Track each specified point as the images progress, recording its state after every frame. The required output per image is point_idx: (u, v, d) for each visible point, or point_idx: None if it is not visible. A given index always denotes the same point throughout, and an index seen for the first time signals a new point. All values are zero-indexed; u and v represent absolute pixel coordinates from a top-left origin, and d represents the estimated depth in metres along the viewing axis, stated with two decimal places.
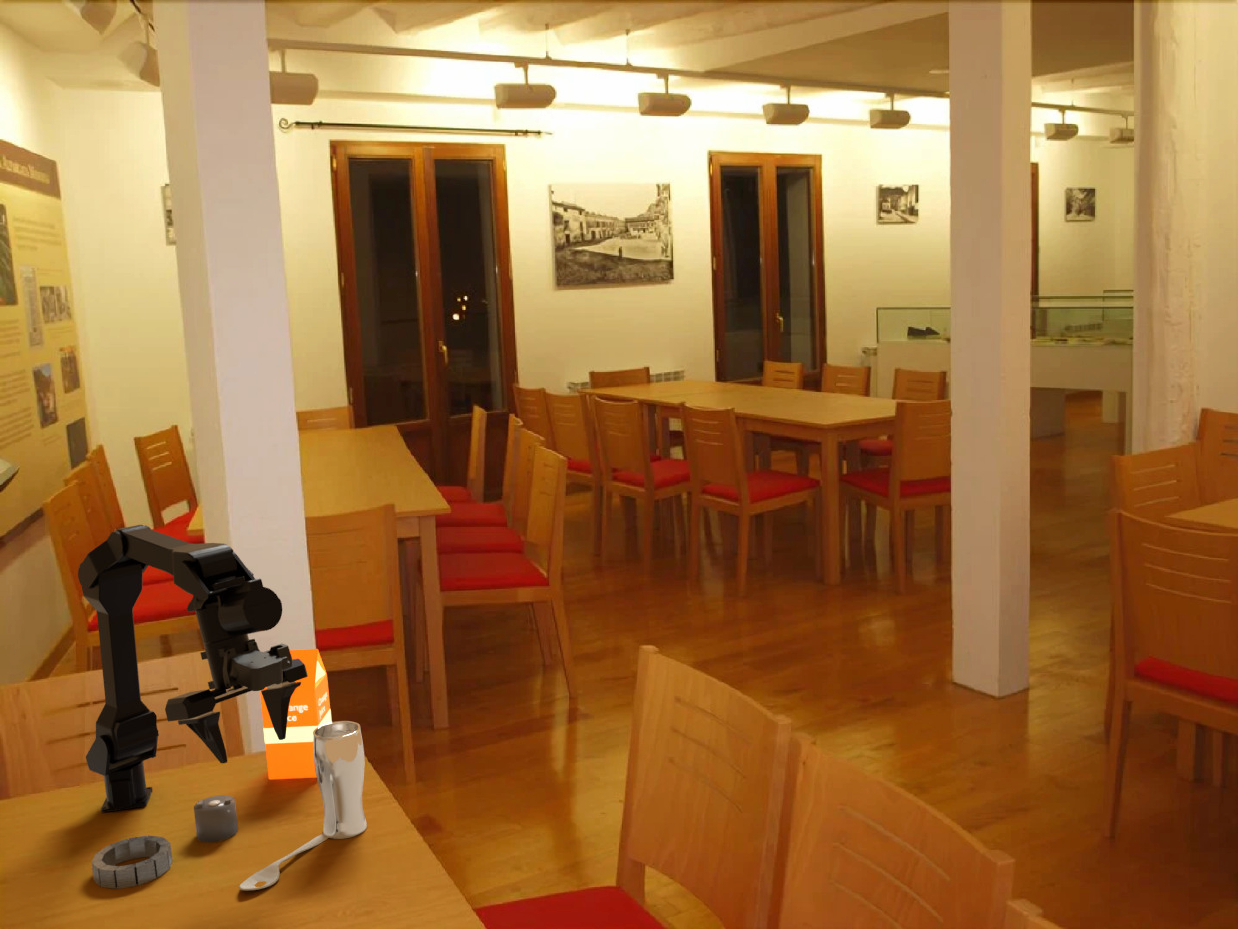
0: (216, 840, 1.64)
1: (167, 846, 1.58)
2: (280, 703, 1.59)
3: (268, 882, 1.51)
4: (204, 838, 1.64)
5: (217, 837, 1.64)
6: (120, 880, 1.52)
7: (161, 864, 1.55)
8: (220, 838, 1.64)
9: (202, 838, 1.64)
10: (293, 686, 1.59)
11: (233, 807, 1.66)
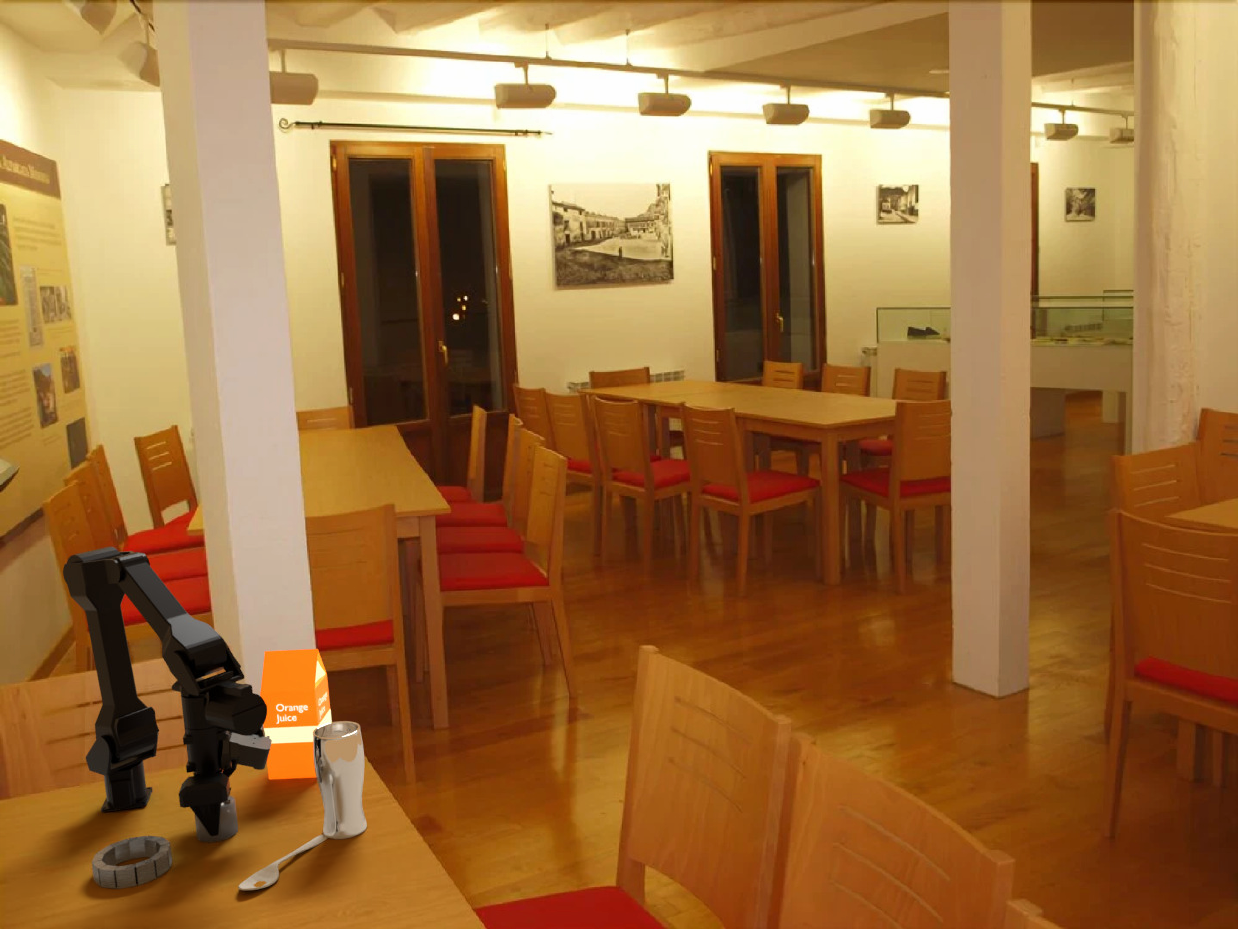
0: (216, 840, 1.64)
1: (167, 846, 1.58)
2: None
3: (267, 882, 1.51)
4: (204, 838, 1.64)
5: (217, 837, 1.64)
6: (120, 880, 1.52)
7: (161, 864, 1.55)
8: (220, 838, 1.64)
9: (202, 838, 1.64)
10: (236, 766, 1.71)
11: (233, 807, 1.66)
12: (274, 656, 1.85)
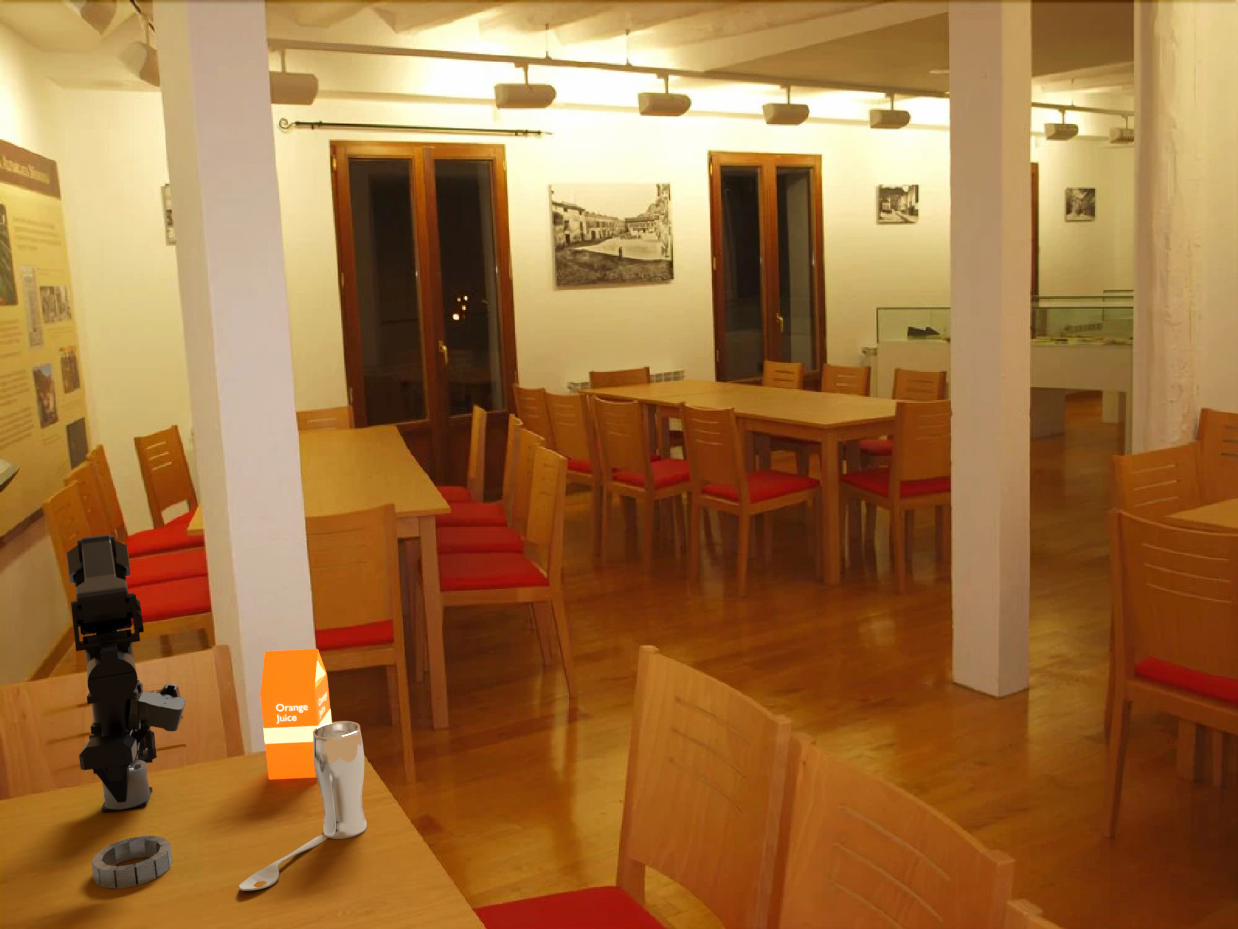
0: (124, 806, 1.53)
1: (167, 846, 1.58)
2: None
3: (267, 882, 1.51)
4: (111, 804, 1.53)
5: (125, 803, 1.53)
6: (120, 880, 1.52)
7: (161, 864, 1.55)
8: (129, 805, 1.53)
9: (109, 804, 1.53)
10: (149, 729, 1.59)
11: (144, 771, 1.54)
12: (274, 656, 1.85)
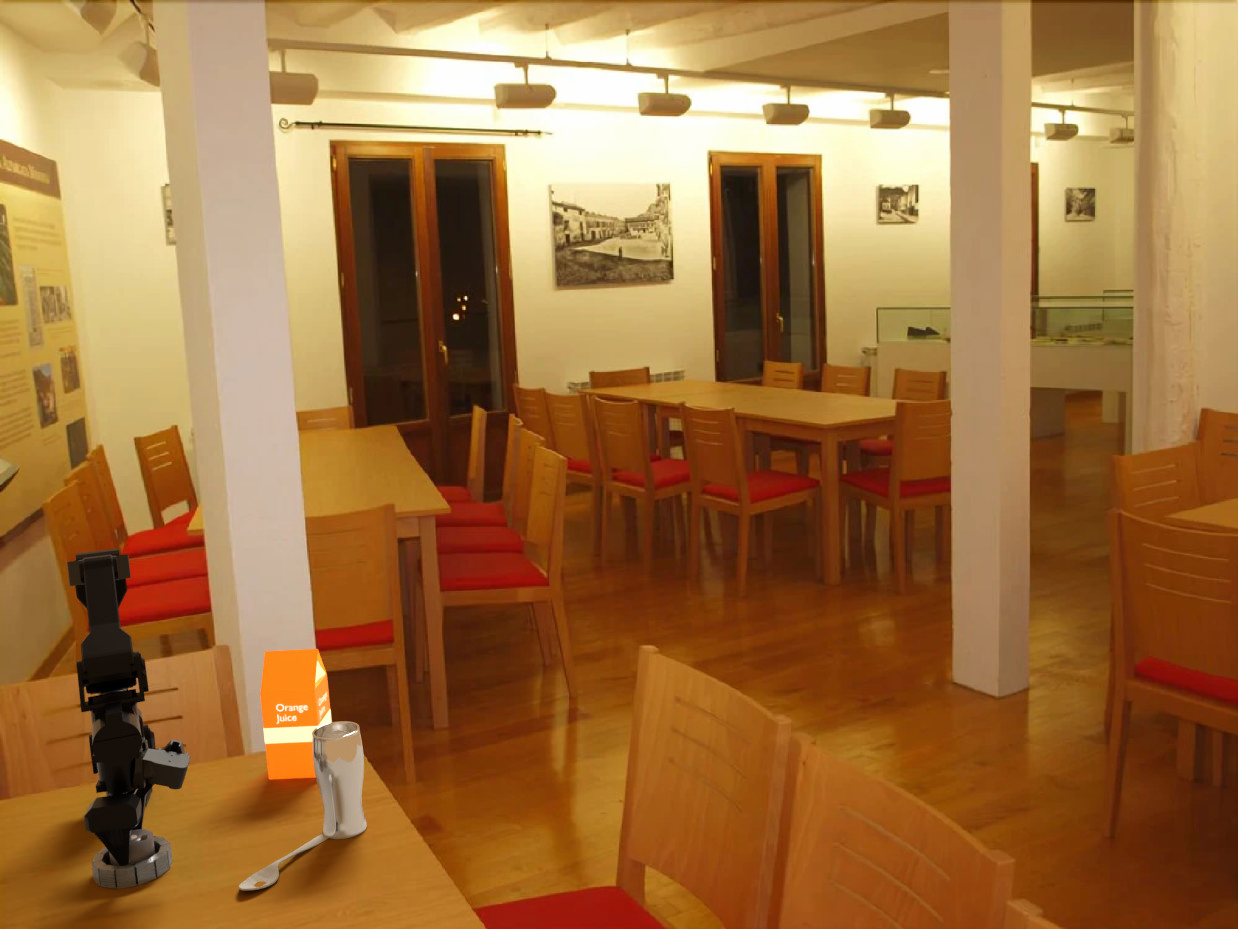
0: None
1: (167, 846, 1.58)
2: (143, 798, 1.60)
3: (267, 882, 1.51)
4: None
5: None
6: (120, 880, 1.52)
7: (161, 864, 1.55)
8: None
9: None
10: None
11: (150, 842, 1.56)
12: (274, 656, 1.85)
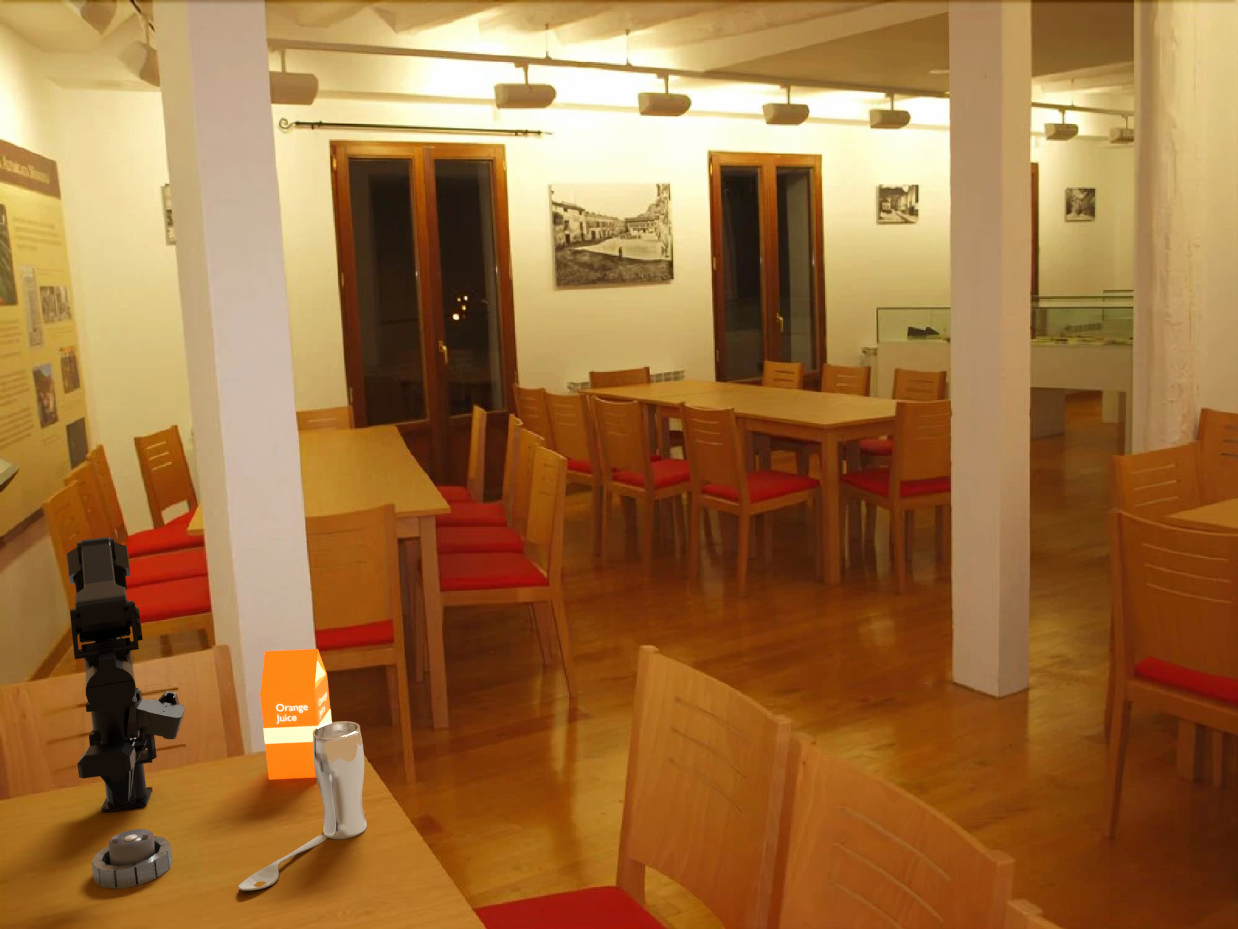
0: None
1: (167, 846, 1.58)
2: None
3: (267, 882, 1.51)
4: None
5: None
6: (120, 880, 1.52)
7: (161, 864, 1.55)
8: None
9: None
10: (145, 743, 1.57)
11: (151, 842, 1.56)
12: (274, 656, 1.85)
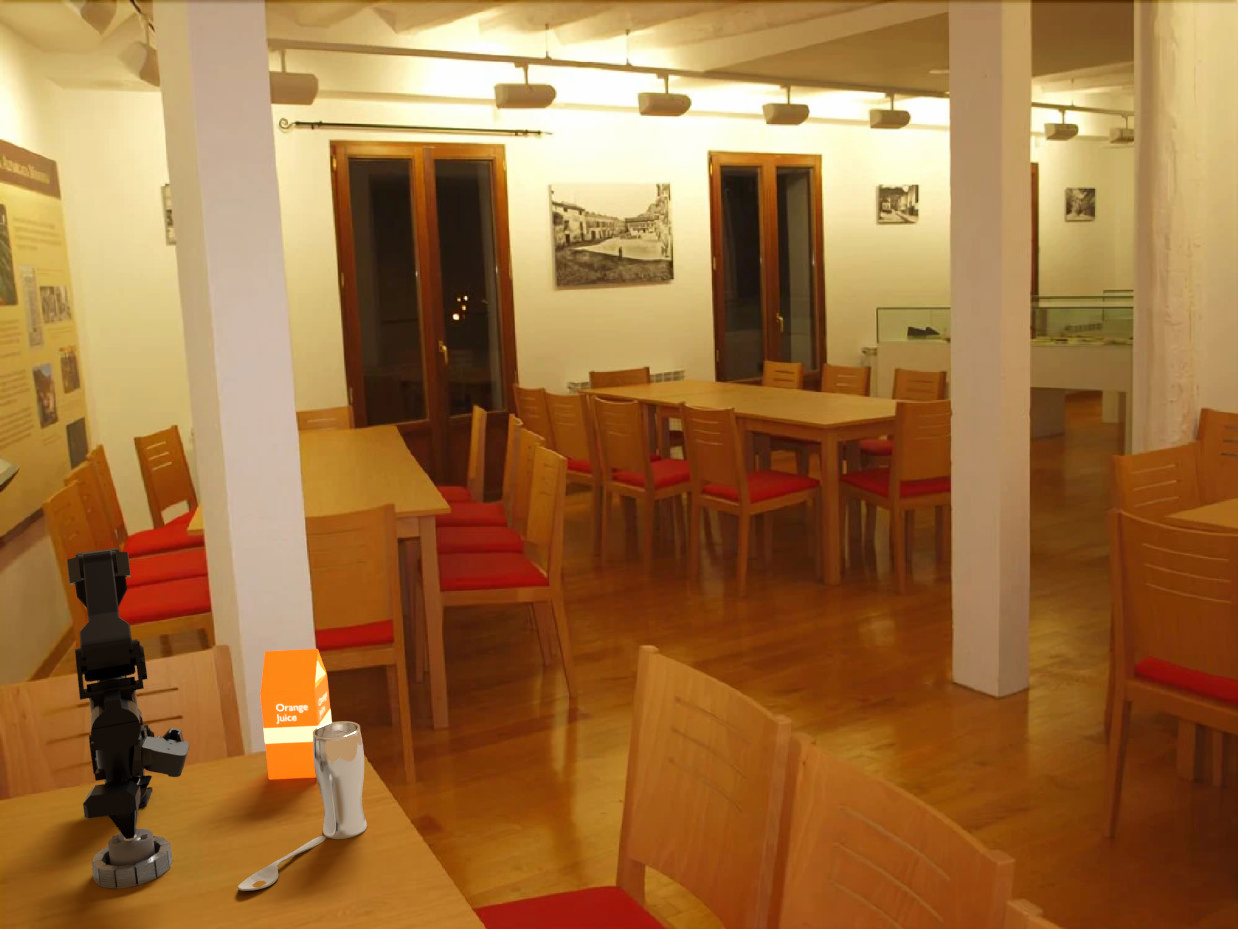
0: None
1: (167, 846, 1.58)
2: None
3: (267, 882, 1.51)
4: None
5: None
6: (120, 880, 1.52)
7: (161, 864, 1.55)
8: None
9: None
10: None
11: (150, 841, 1.56)
12: (274, 656, 1.85)
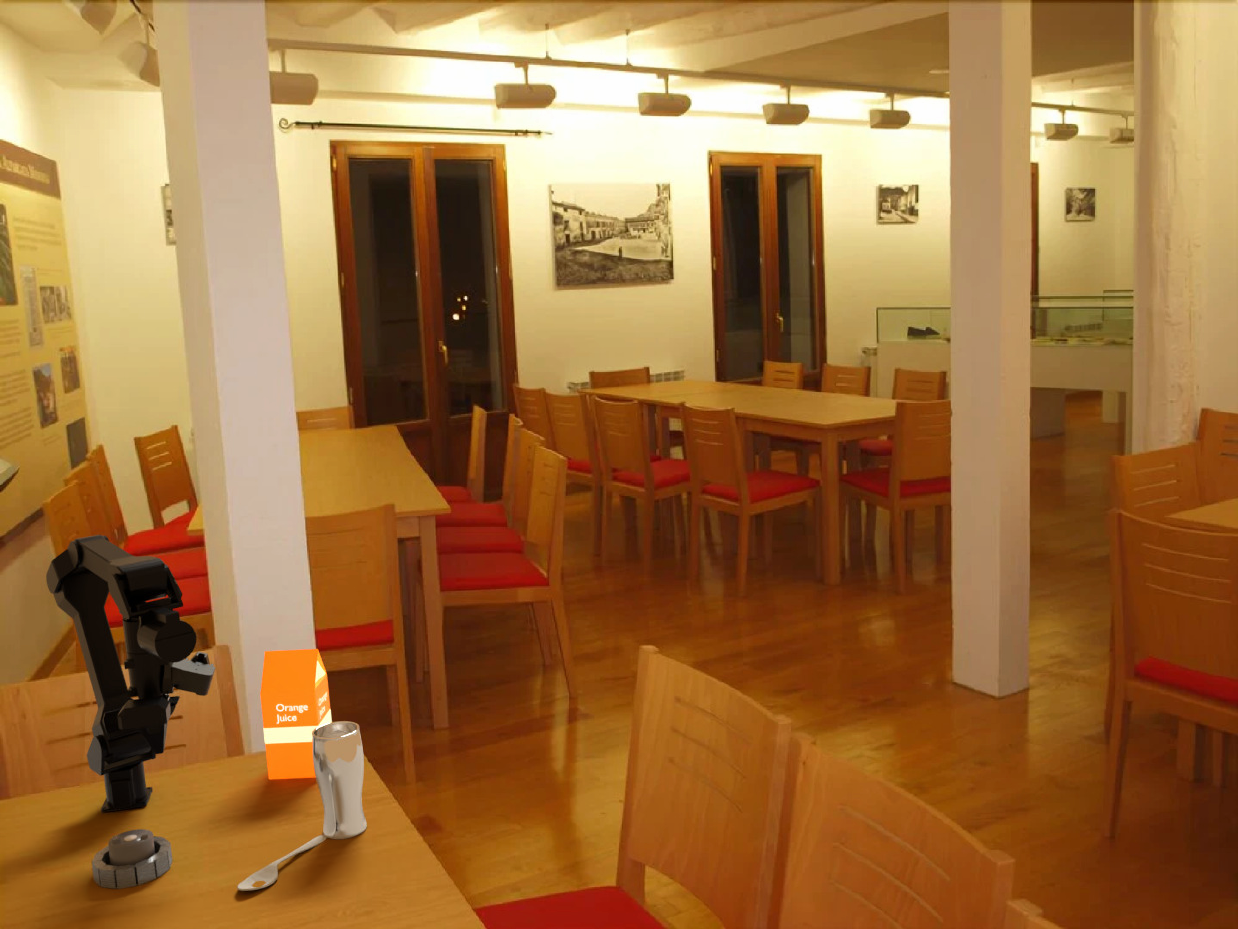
0: None
1: (167, 846, 1.58)
2: None
3: (266, 882, 1.51)
4: None
5: None
6: (120, 880, 1.52)
7: (161, 864, 1.55)
8: None
9: None
10: (178, 700, 1.68)
11: (150, 842, 1.56)
12: (274, 656, 1.85)
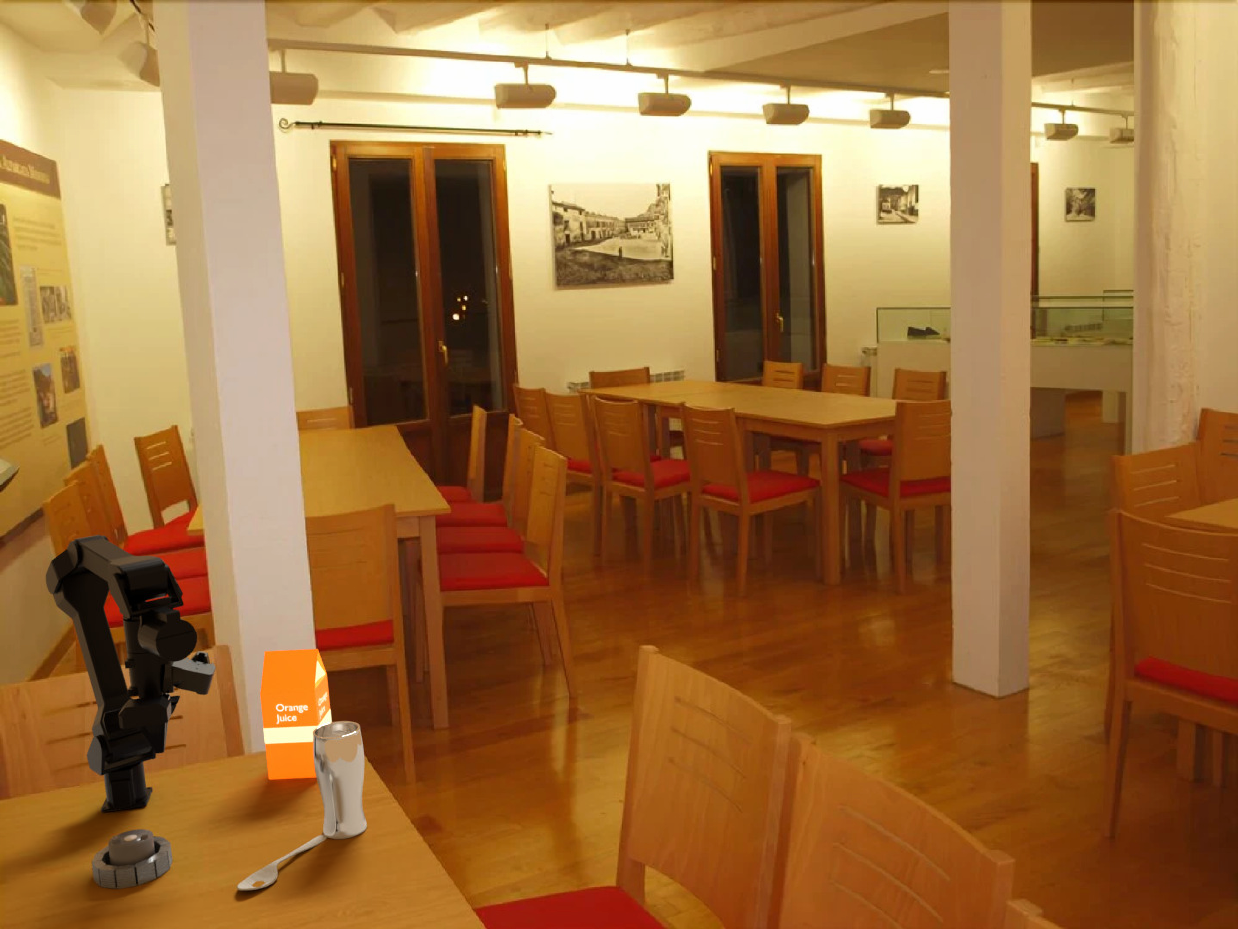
0: None
1: (167, 846, 1.58)
2: None
3: (266, 882, 1.51)
4: None
5: None
6: (120, 880, 1.52)
7: (161, 864, 1.55)
8: None
9: None
10: (178, 700, 1.68)
11: (150, 842, 1.56)
12: (274, 656, 1.85)
